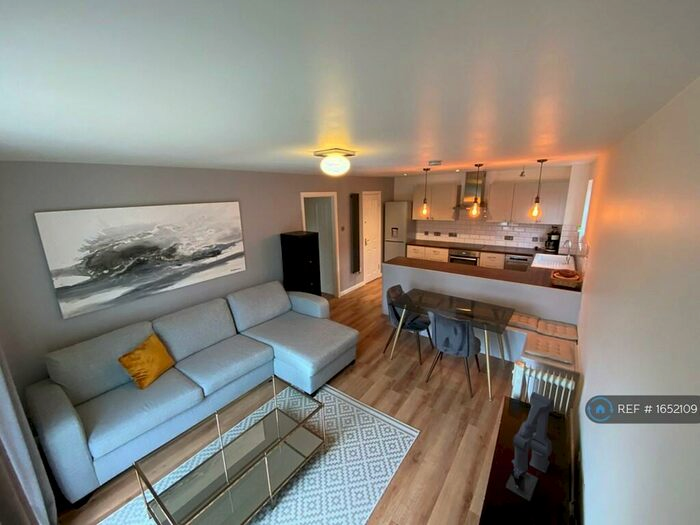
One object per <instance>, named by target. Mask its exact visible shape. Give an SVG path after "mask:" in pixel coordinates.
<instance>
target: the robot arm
mask: <svg viewBox="0 0 700 525" xmlns="http://www.w3.org/2000/svg"><path fill="white" fill-rule="evenodd" d="M529 404H530V409H529V412H528V416H527V418H526V420H525V421H522V423H521V426H520V428H519V429H518V430H519V431H518V432H517V433H516V434H514V436H513V437H512V445H513V448H514V459H512V460H511V463H512V464H513V467H514V468H513V469H514V471H513V469H512V470H511V471H510V472H511V473H510V476H511V475H512V476H513V478H514V481H515V484H516V485H517V486H519V487H520V486H521V482H522V481H523V480H524V478H525V477H523V476H521V474H522V473H525V474H526V472H527V471H528V469H529V468H530V467H533V468H535V469H537V470H538V471H541V472H543V473H546V472H547V470H548V467H549V465H550V461H549V460H548V457H550V456H551V454H552V451H553V450H552V449H553V445H552V441H551V440H550V439H549V437H548V436H547V432H548V428H547V425H548V426H549V424H548V423H549V415H550V413H551V412H552V413H553V412H554V408H555V401H554V399H552V398H549V397H547V396H545V395H543V394H539V393H537V392H535V391H533V392H532V393H531V394H530V396H529ZM536 421H537V428H536V433H535V432H534V431H535V427H534V426H535V423H536ZM529 450H531V459H530V461H529V462H528V460H529V458H528V457H529Z"/></svg>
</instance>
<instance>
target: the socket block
mask: <svg viewBox="0 0 700 525" xmlns="http://www.w3.org/2000/svg"><path fill="white" fill-rule="evenodd" d="M512 470H513V471H514V468H513V469H512ZM538 481H539V478H538V477H537V476H536V475H533V474H531V473H529V472H527V471H526V480H525V488H524V490H520V489H518V488H517V487H516V484H515V481H514V478H513V476H512V475H511V474H510V476H509V478H508V480H507V482H506V485H505V488H506V489H508V490H510V491H511V492H512V493H514V494H516V495H518V496H519V497H522V498H523V499H524V500H526V501H528V502H531V500H532V497H533V494H534V492H535V488H536V486H537V483H538Z"/></svg>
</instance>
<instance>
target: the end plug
mask: <svg viewBox="0 0 700 525" xmlns="http://www.w3.org/2000/svg"><path fill="white" fill-rule="evenodd" d="M521 476H523V477H525V478H524V480H523V481H522V482H521V486H520V487H519V486H517V485H516V487H517V488H518V489H520V490H524V488H525V480H526V474H525V473H522V474H521Z"/></svg>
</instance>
